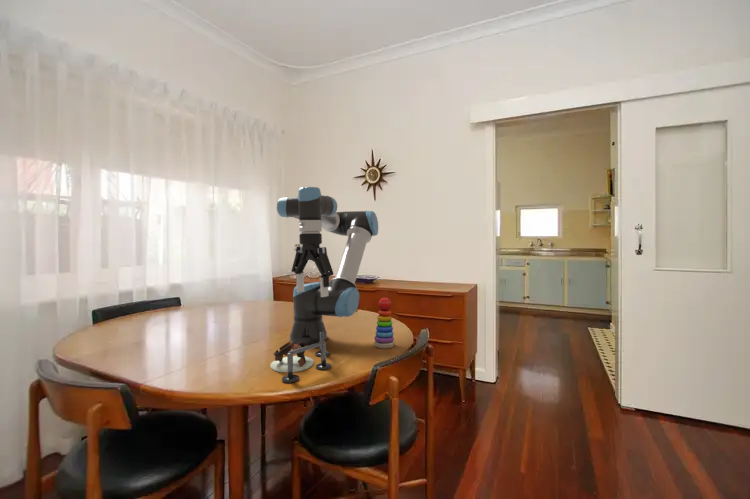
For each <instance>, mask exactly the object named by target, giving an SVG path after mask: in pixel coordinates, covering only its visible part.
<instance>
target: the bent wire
mask: <svg viewBox="0 0 750 499" xmlns="http://www.w3.org/2000/svg"><path fill="white" fill-rule="evenodd" d="M300 347H301V346H300ZM318 347H319V350H317V351H316V352H315V353H314V354H315V355H314V356H315V357H318V358H319V357H320V359H321V360H320V362H321V363H317V364H316V365H315V369H316V370H317V371H326V370H327V371H328V370H331V368H332V363H329V362H327V357H328V356H329V355H330V351H328V350H327V342H326V340H325V339H324V332H323V331H321V332H320V342H318V343H314V344H307V345H306V346H305V347H301V348H298V349H295V350H293V349H291V351H289V353H287V356H286V357H287V364H288V373H287V375H284V376H282V377H281V382H282V383H284V384H292V383H293V384H294V383H297V382H298V381H299V380H300V376H299V375H298V374H294V372H293V356H294V355H297V353H300V352H303V351H305V352H306V351H309V350H312V349H313V350H314V349H315V348H318Z"/></svg>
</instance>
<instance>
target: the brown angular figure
mask: <svg viewBox="0 0 750 499" xmlns="http://www.w3.org/2000/svg"><path fill="white" fill-rule="evenodd" d="M305 346H307V344H305V343H304V342H302V341H300V342H298V343H293V341H290V340H289V341H288V342H286V343H285V344H283V345H281V346H280V347H279V350H278V349H277V350H275V351H274V353H273V355H274V356H275V358H274V361H280V362H281V361H283V358H284V356H285V357H287V353H289V351H291V350H295V349H298V348H301V347H305ZM305 353H306V351H303V352H300V353H297V354H296V356H297V357H300V360H298V363H299V365H300V367H302V366H303V365H304V364H305V363H306V360H305V357H306V355H305Z"/></svg>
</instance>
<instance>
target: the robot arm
mask: <svg viewBox="0 0 750 499" xmlns="http://www.w3.org/2000/svg"><path fill="white" fill-rule="evenodd" d="M337 210H338V202H337V201H336V199H335V198H334V197H332V196H329V195H322V193H321V189H320V187H318V186H301V187H300V188H298V192H297V196H287V197H280V198H279V199H278V200H277V203H276V211H277V214H278V215H279V216H280V218H281V217H282V218H294V219H296V220H297V219H298V220H299V221H298V223H299V227H298V228H299V230H298V231H299V232H300V234H299V235H298V237H299V245H300V246H299V245H298V246H296V248H295V249H296V251H295V256H294V260H293V264H292V267H291V272H293V273H294V274H295V281H296V286H294V288H293V293H292V294H293V295H292V299H293V300H292V301H293V302H292V303H293V323H292V326H291V330H290V332H289V342H290V341H293V343H294V344H296V343H298V342H300V341H302V342H304V343H305V345H311V344H315V343H318V342H320V332H321V331H323V332H324V339H325V341H326V340H327V339H328V334H327V330H326V327H325V323H324V319H323V316H325V317H326V316H327V317H328V316H329V317H338V318H343V317H344V318H347V317H352V316H353V315H354V314H355V313H356V312H357V309H358V307H359V303H360V292H359V290H358V287H357V285H356V282H357V281H356V280H357V277H358V273H359V270H360V268H361V267H360V266H361V263H362V259H363V256H364V253H365V250H366V246H367V244H368V243H370V242H371V240H372V238H373V237H375V236H377V235H378V234H379V221H378V217H377V215H376V214H377V213H375V211H373V210H359V211H358V210H357V211H337ZM322 230H325V231H326V232H329V233H333V234H335V235H339V236H345V237H346V236H347V237H348V238H347V239H346V240H347V241H346V243H345V247H344V250H343V253H342V255H341V259H340V262H339V265H338V268H337V271H336V274H335V276H334V277H333V278H331V279H330V277H331V276H333V275H334V271H333V267H332V265H331V262H330V259H329V255H328V252H327V247H325V246H322V247H321V245H322V243H323V237H322V236H323V235H322V234H323V233H321V232H322ZM309 261H312V262H314V264H315V266H316V268H317V269H318V271H319V273H320V275H321V276H319V277H320V278H319V279H320V281H319V282H310V283H305V274H304V270H305V268H306V266H307V264H308V262H309Z"/></svg>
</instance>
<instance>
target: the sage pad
mask: <svg viewBox="0 0 750 499" xmlns="http://www.w3.org/2000/svg"><path fill="white" fill-rule="evenodd" d="M298 360H300V357H297V355H293V373H297V372H298V373H299V372H302V371H306V370H308V369H310V368H312V367H313V366H314V364H315V362H314V359H313V358H311V357H308V356H305V360H306V363H305V364H304V365H303V366H302V367H300V365H299V363H298ZM269 365H270V369H271V370H272V369H273V370H272V371H275V372H277V373H284V372H285V374H286V373H287V374H288V364H287V356H285V357H284V356H283V361H281V362H280V361H275V360H274V361H272V362H270V364H269Z"/></svg>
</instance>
